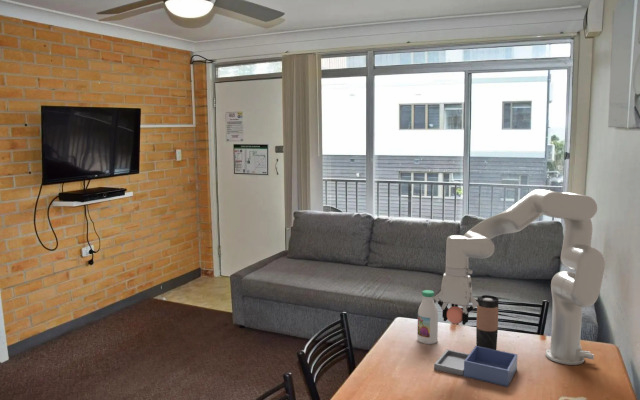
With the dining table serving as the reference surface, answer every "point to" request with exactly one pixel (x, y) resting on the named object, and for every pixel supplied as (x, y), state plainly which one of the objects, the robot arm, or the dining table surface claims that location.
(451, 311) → the ball
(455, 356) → the tray
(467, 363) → the blue storage bin
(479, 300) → the travel mug
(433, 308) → the milk bottle
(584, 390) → the dining table surface
